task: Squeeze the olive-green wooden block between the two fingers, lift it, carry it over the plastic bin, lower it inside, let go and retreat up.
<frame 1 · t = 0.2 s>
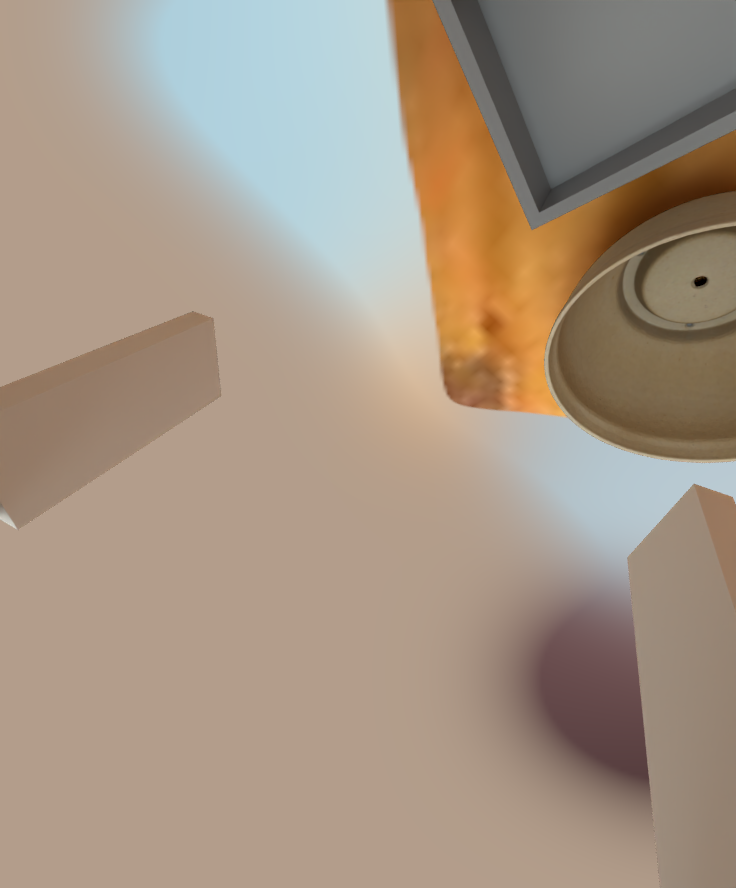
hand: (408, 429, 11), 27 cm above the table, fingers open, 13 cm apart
planter bowl: (701, 270, 28), on the table
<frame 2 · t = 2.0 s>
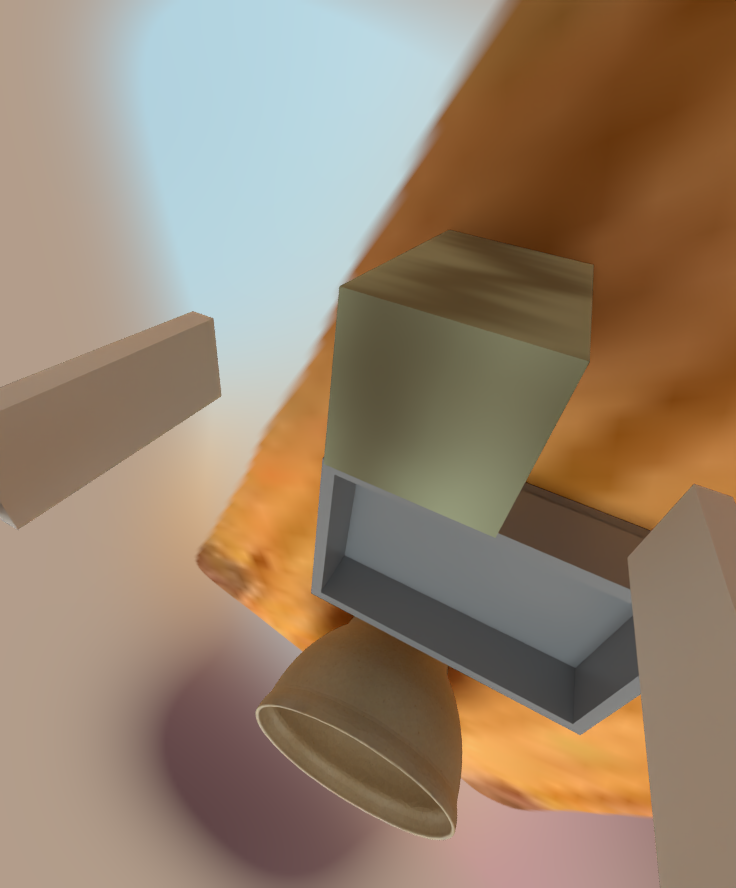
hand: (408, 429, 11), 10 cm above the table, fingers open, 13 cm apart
bin: (478, 551, 27), on the table
olive block: (494, 316, 19), on the table
planter bowl: (400, 640, 38), on the table
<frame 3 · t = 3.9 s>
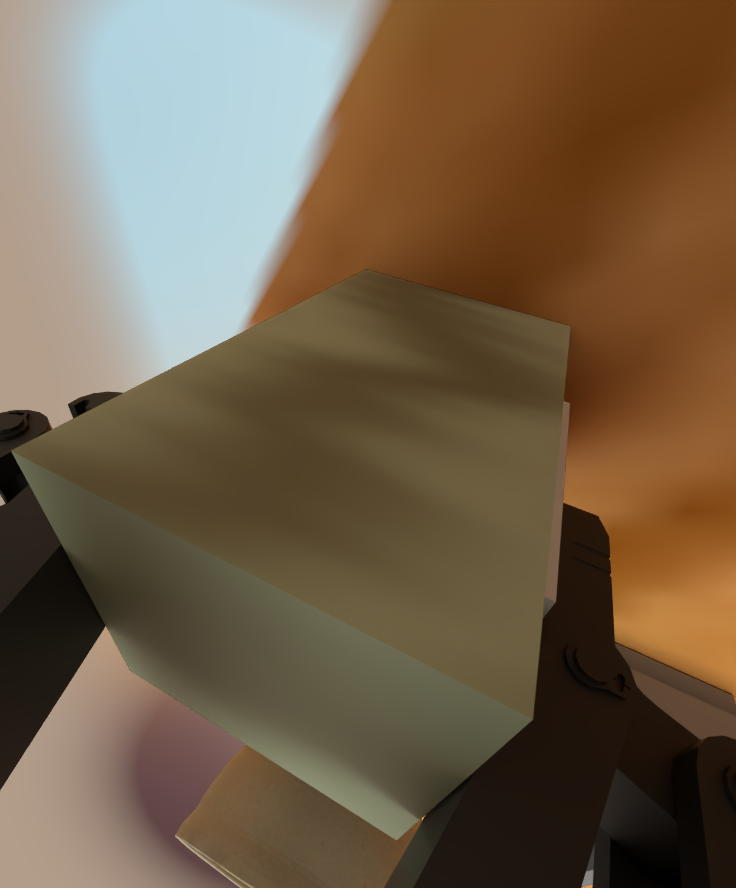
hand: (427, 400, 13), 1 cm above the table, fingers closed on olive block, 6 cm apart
bin: (438, 652, 22), on the table
olive block: (435, 387, 13), on the table, touching gripper
planter bowl: (360, 724, 32), on the table
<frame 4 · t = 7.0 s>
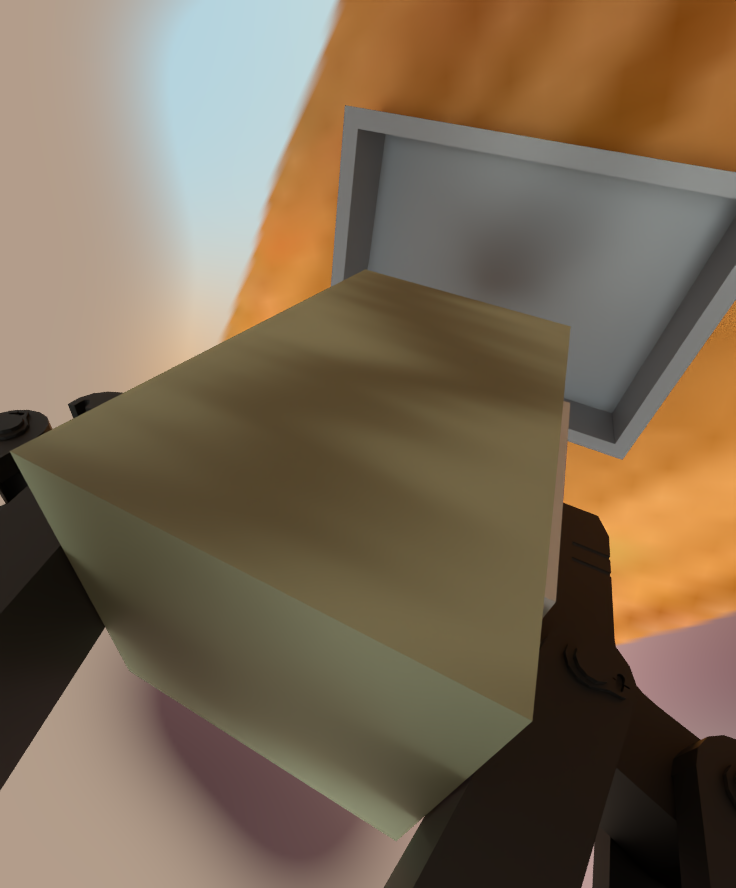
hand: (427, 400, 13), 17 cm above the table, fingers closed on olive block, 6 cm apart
bin: (508, 278, 25), on the table
olive block: (435, 387, 13), point 16 cm above the table, touching gripper
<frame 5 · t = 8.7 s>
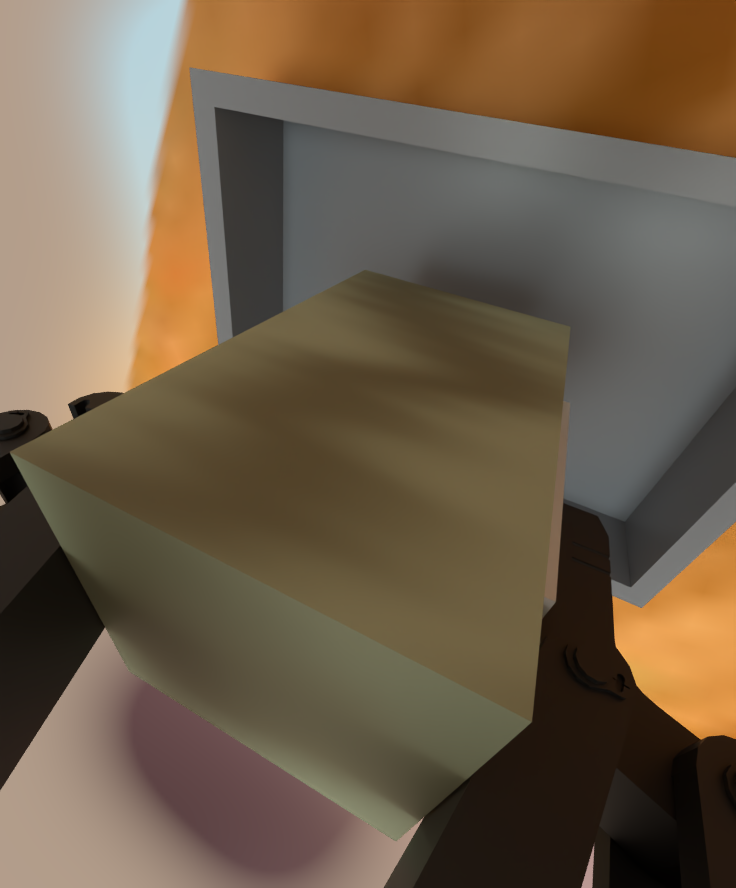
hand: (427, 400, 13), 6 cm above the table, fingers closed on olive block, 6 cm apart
bin: (474, 331, 17), on the table
olive block: (435, 387, 13), point 5 cm above the table, touching gripper
when the fingers open (4 cm above the table, at t = 10.0 s): olive block drops 2 cm, resting on bin.
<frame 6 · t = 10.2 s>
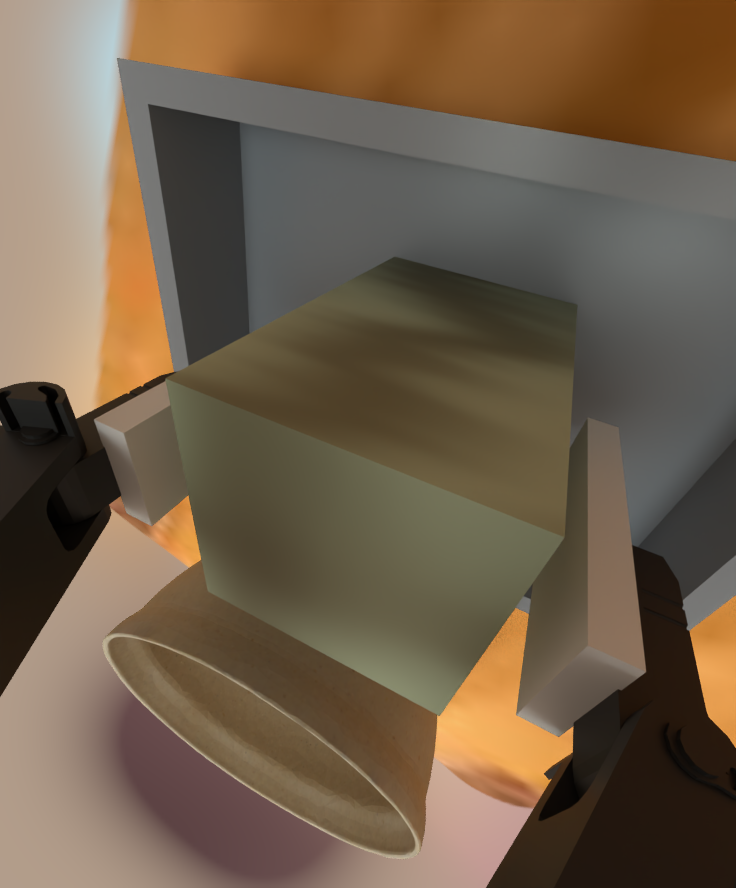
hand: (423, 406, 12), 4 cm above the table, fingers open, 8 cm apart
bin: (457, 354, 15), on the table
olive block: (455, 363, 15), point 1 cm above the table, touching bin
planter bowl: (352, 566, 26), on the table
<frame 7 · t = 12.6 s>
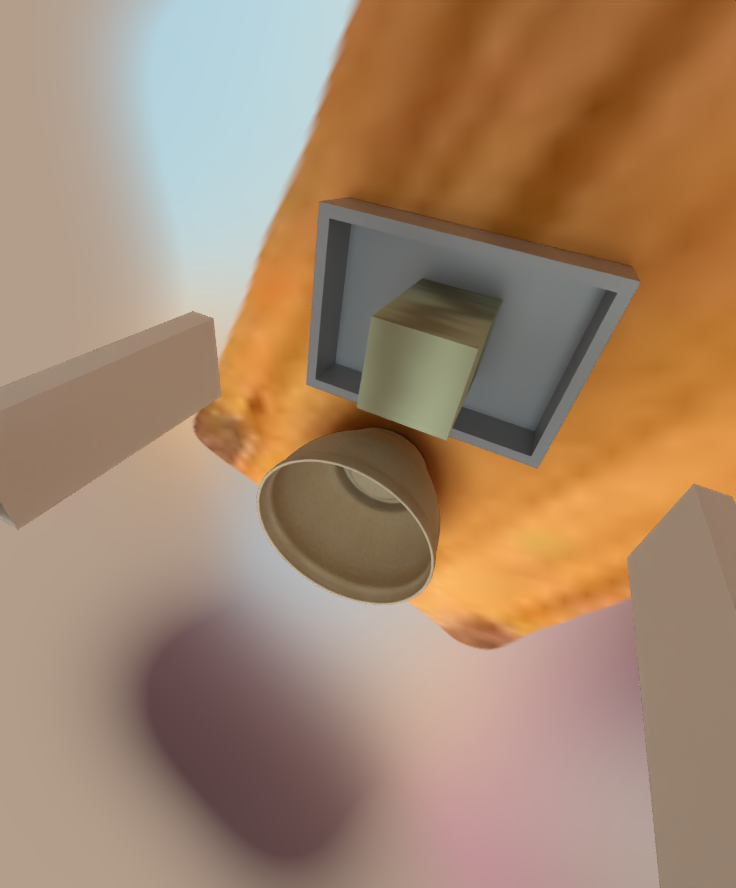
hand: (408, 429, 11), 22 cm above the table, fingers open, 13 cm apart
bin: (450, 325, 32), on the table
olive block: (450, 328, 31), point 1 cm above the table, touching bin
planter bowl: (384, 465, 42), on the table
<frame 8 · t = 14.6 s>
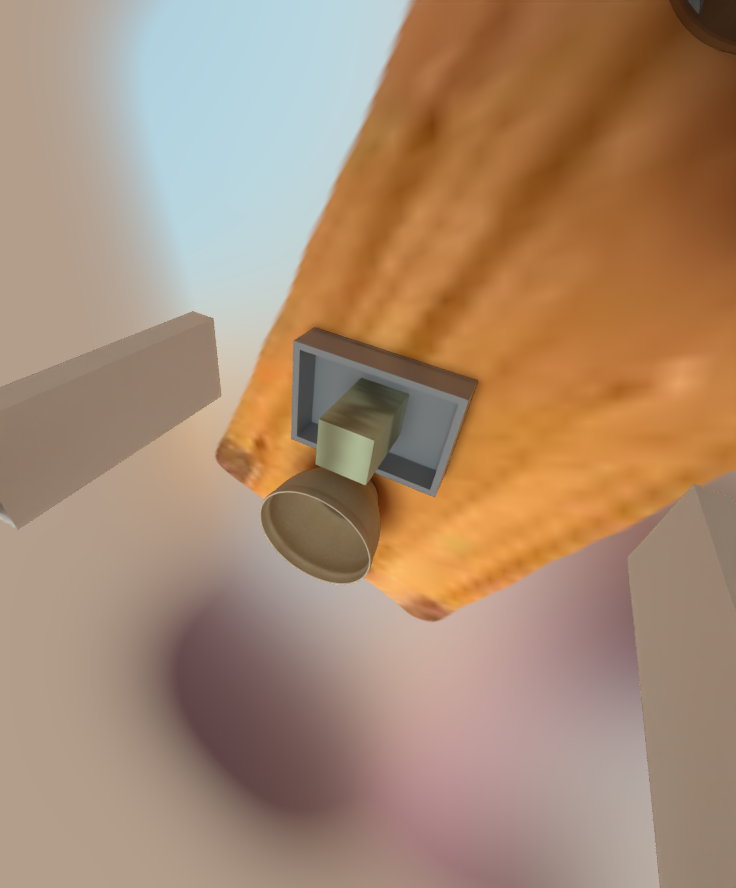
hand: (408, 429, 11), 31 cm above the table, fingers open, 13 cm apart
bin: (382, 404, 49), on the table
olive block: (380, 407, 48), point 1 cm above the table, touching bin
planter bowl: (349, 488, 60), on the table
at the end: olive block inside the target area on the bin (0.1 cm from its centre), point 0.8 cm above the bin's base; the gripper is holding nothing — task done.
